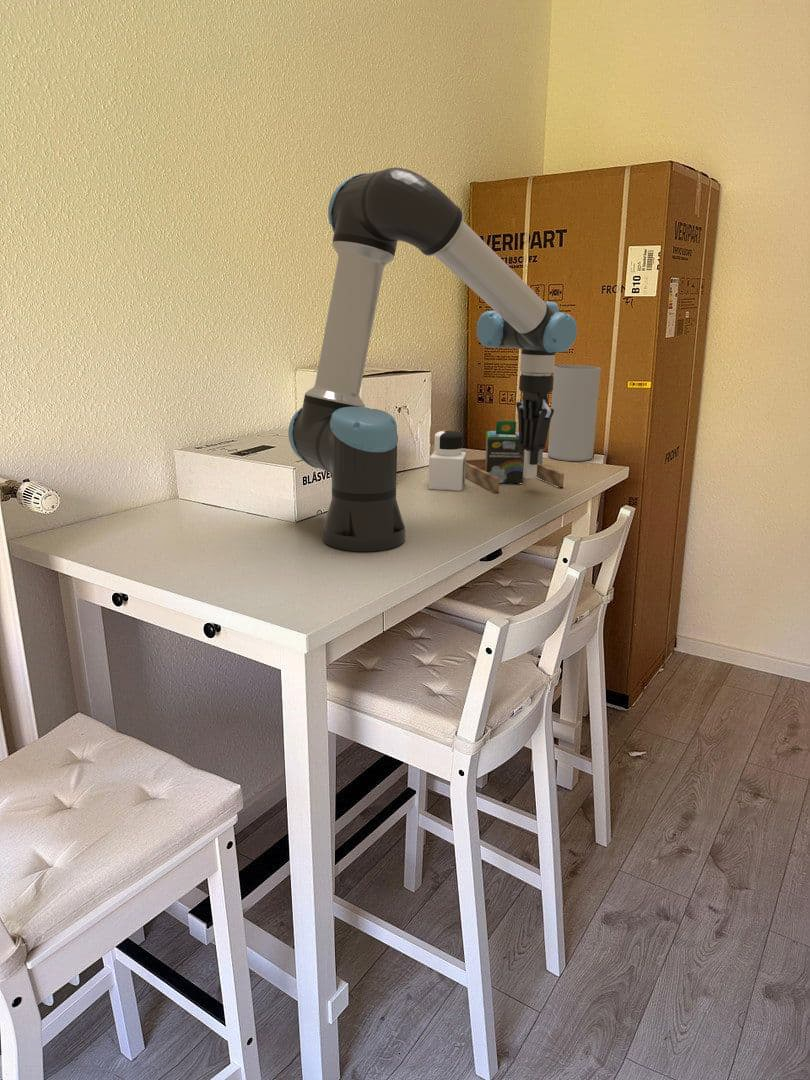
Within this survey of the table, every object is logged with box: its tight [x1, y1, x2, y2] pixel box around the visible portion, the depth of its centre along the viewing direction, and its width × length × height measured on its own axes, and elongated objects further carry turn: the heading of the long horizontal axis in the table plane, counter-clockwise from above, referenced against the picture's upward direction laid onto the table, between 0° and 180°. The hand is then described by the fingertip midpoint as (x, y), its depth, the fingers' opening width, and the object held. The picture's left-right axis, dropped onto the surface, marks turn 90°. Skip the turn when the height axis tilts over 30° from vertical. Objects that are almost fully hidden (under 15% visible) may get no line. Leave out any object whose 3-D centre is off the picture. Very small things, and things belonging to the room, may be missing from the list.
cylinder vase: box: [547, 364, 602, 462], centre depth 216 cm, size 12×12×25 cm
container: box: [428, 430, 467, 492], centre depth 182 cm, size 8×8×13 cm
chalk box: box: [485, 420, 525, 484], centre depth 189 cm, size 9×9×15 cm
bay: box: [465, 458, 565, 493], centre depth 190 cm, size 21×18×4 cm
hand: (529, 477), depth 180 cm, fingers closed
